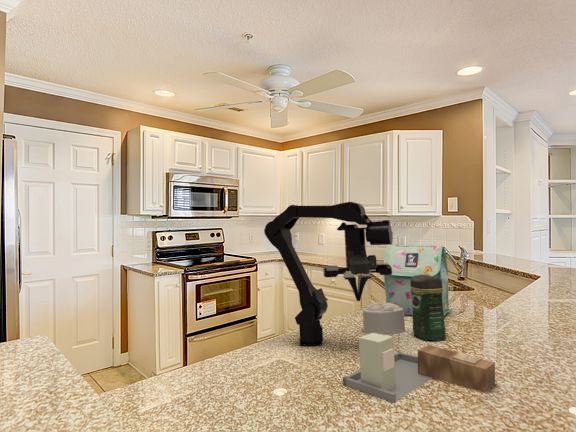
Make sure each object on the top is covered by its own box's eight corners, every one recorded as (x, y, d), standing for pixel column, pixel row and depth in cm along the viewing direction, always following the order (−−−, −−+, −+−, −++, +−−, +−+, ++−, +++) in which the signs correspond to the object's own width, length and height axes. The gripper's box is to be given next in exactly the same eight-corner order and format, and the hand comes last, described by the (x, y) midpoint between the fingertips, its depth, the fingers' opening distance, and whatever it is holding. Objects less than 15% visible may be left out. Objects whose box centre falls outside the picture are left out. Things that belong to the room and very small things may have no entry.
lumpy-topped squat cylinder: (409, 332, 115) (407, 304, 116) (374, 337, 111) (372, 308, 112) (390, 324, 125) (388, 299, 126) (357, 329, 121) (355, 303, 121)
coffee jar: (451, 340, 105) (446, 276, 106) (425, 342, 103) (421, 277, 104) (432, 331, 114) (428, 272, 115) (409, 333, 113) (405, 274, 114)
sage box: (361, 387, 74) (358, 337, 74) (375, 379, 77) (372, 332, 78) (383, 394, 70) (380, 342, 71) (397, 386, 73) (394, 337, 74)
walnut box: (417, 348, 80) (485, 367, 69) (428, 343, 83) (494, 360, 73) (417, 372, 80) (485, 395, 69) (428, 366, 83) (495, 387, 73)
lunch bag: (382, 315, 140) (378, 245, 142) (395, 307, 154) (392, 244, 155) (444, 320, 127) (439, 244, 129) (453, 311, 141) (449, 242, 142)
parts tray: (343, 387, 75) (342, 377, 76) (399, 360, 90) (398, 351, 90) (393, 405, 67) (393, 394, 67) (446, 372, 81) (446, 363, 81)
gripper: (324, 248, 95) (327, 307, 94) (395, 245, 95) (399, 305, 94) (322, 247, 106) (324, 300, 105) (385, 244, 106) (388, 297, 105)
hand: (358, 300), depth 102 cm, fingers closed
